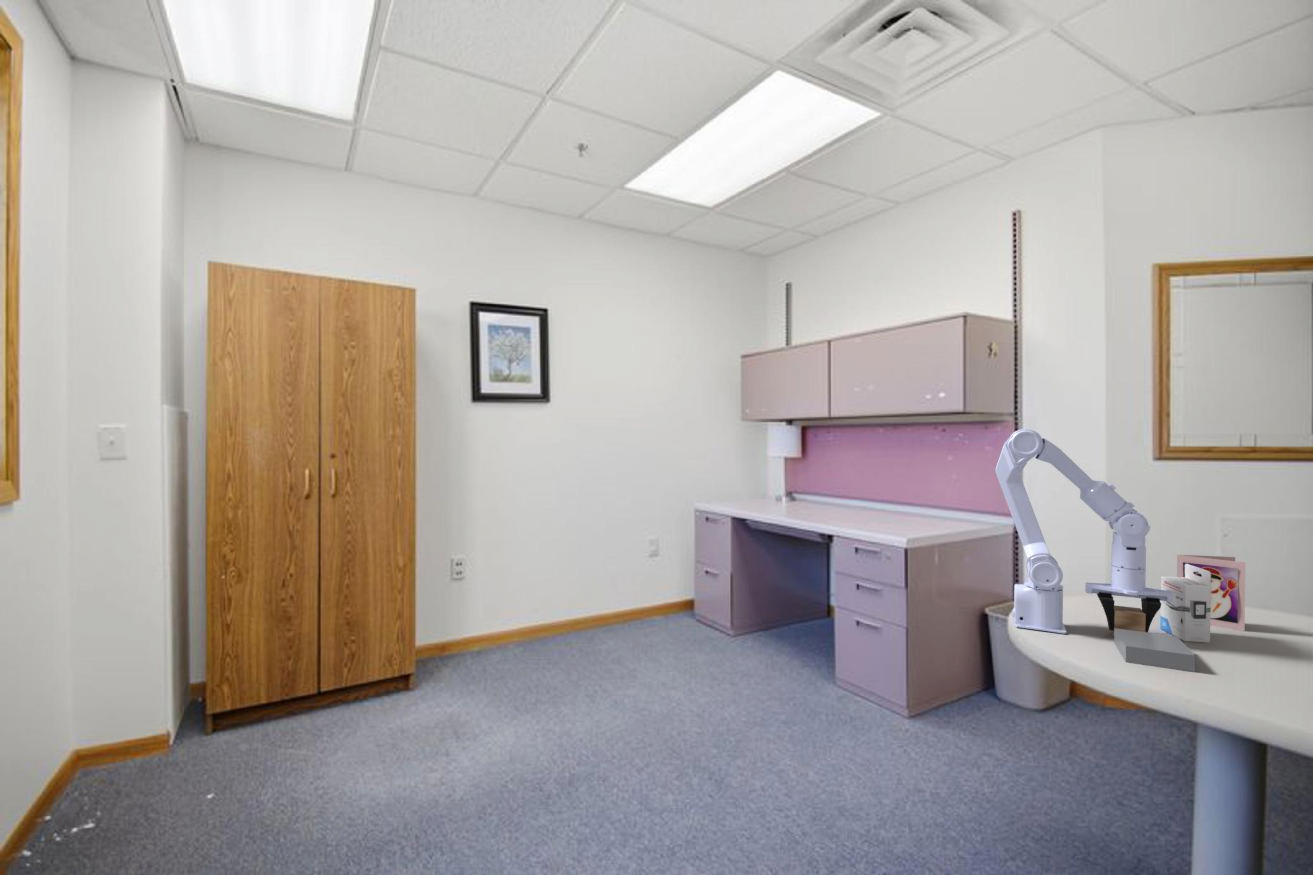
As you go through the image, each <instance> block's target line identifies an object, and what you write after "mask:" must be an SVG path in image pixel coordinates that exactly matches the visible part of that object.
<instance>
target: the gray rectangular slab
mask: <svg viewBox="0 0 1313 875" xmlns="http://www.w3.org/2000/svg"><path fill="white" fill-rule="evenodd" d="M1113 643H1114V644H1115V646H1116V648H1117V650H1118V651H1119V653H1120V655H1121V657H1122V658H1123V660H1124V662H1125V663H1131V664H1137V665H1144V666H1153V667H1157V666H1159V667H1158V668H1165V669H1172V670H1178V671H1179V670H1180V671H1185V672H1192V673H1195V672H1196V655H1195V654H1194V653H1193V651H1192V650H1190V648H1189V647H1188V646H1187V645H1186V644H1185V643H1184V641H1183V640H1182V639H1180V638H1178V637H1177V636H1174V635H1172V634H1163V633H1155V632H1149V631H1148V632H1141V631H1133V630H1125V629H1117V628H1114V637H1113Z"/></svg>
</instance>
